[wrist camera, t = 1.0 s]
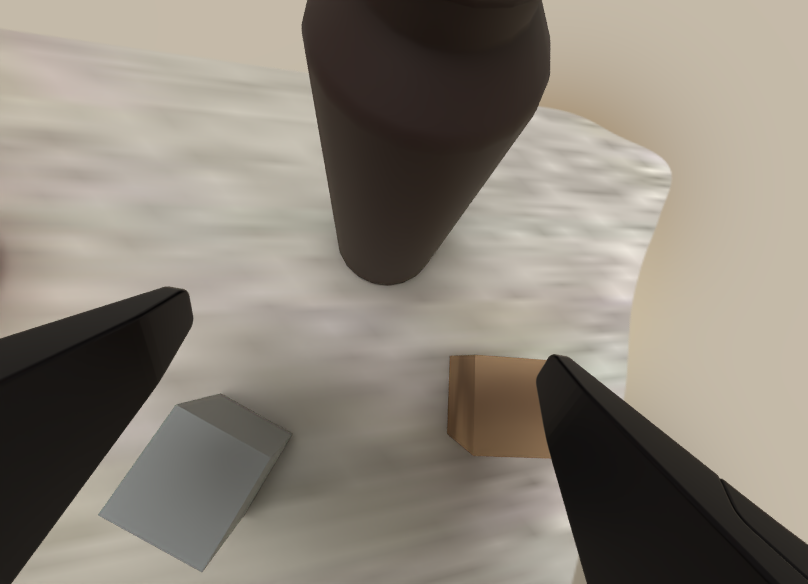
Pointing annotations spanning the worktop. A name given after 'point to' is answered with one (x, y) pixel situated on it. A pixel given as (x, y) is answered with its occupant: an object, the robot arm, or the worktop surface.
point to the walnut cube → (496, 406)
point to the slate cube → (197, 478)
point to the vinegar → (417, 115)
